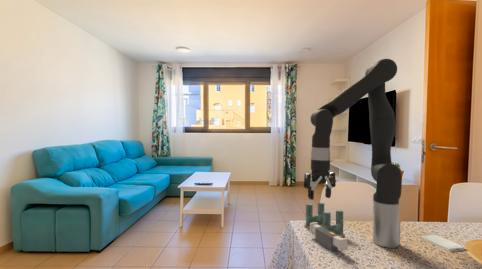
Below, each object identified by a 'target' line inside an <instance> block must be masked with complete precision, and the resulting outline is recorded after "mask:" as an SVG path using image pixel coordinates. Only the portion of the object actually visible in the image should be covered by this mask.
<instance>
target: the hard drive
mask: <svg viewBox="0 0 482 269" xmlns="http://www.w3.org/2000/svg"><path fill="white" fill-rule="evenodd" d="M420 239H421V240H424V241H425V242H428V243H430V244H432V245H433V246H436V247H439V248H441V249H443V250H445V251H447V252H449V253H450V252H459V251H465V250H464V247H465V246H463V245H461V244H459V243H457V242H454V241H452V240H449V239H447V238H445V237H442V236H440V235H437V234H431V235H429V234H428V235H420Z"/></svg>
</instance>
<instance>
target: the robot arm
mask: <svg viewBox="0 0 482 269" xmlns="http://www.w3.org/2000/svg"><path fill="white" fill-rule="evenodd" d="M397 73H398V66H397V63H396V62H395V61H394V60H393V59H390V58H382V59H379V60H377V61H374V62H373V63H371V64H370V65H368V66H367V68H366V69H365V73H364V76H362V78H360V79H359V80H357V81H356V82H354V83H353V84H351V85H350V86H348V87H347V88H345V89H343V91H341V92H340V93H338V94H337V95H336V96H334V97H333V98H332V99H331V100H330V101H328V102H327V103H325V104H324V105H322V106H321V107H319V108H317V109H316V110H315V111H314V112H313V113H312V114H311V115H310V123H311V124H312V125H313V126H314V133H313V134H312V136H311V151H310V170H311V172H310V173H309V172H305V173H304V178H303V188H304V189H307V197H308V199H309V200H312V201H313V200H314V197H315V196H314V194H315V191H314V190H315V188H316V187H317V186H318V185H321V184H322V185H324V187H325V188H324V191H325V195H324V196H325V198H327V199H331V196H332V189H333V188H336V186H337V185H336V173H335V172H333V171H330V170H331V149H330V148H331V138H330V137H331V134H332V130H333V125H334V118H335V117H336V116H338V115H342V114H343V113H345V111H347V110H348V109H350V108H351V107H352V106H353V105H355V104H356V103H357V102H358V101H360V100H361V99H362V98H363V97H365V96H366V95H367V96H368V110H369V111H368V112H369V114H368V115H369V130H370V132H369V133H370V142H371V164H370V165H371V166H370V175H371V176H372V178H373V180H374V181H375V182H376V190H375V192H374V193H373V196H372V202H373V203H372V204H373V205H372V208H373V209H372V213H373V214H372V215H373V216H372V242H373V243H374V244H376V245H377V246H379V247H384V248H389V249H396V248H398V247H399V246H400V245H401V221H400V198H401V196H402V185H403V175H402V171H401V169H400V168H399V167H398V166H397V165H395V164H393V162H392V155H391V153H392V152H391V150H392V144H393V141H394V138H395V134H396V118H395V112H394V110H393V107H392V106H391V104H390V102H389V100H388V98H387V95H386V83H387V82H389V81H390V80H393V78H395V76H396V75H397Z"/></svg>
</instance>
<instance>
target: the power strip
mask: <svg viewBox="0 0 482 269" xmlns="http://www.w3.org/2000/svg"><path fill="white" fill-rule="evenodd" d="M309 233H310V234H312V233H313V234H315V235H314V238H315V240H314V241H315V242H316V243H318V244H319V245H320V246H322V247H324V248H325V249H327V250H328V251H330V252H332V253H333V252H336V251H339V252H341V251H346V250H348V238H347V237H340V236H339V235H337V234H335V233H333V232H331V231H330V230H328V229H326V228H324V227H321V226H320V225H318V222H313V223H310V230H309Z"/></svg>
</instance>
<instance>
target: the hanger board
mask: <svg viewBox="0 0 482 269" xmlns="http://www.w3.org/2000/svg"><path fill="white" fill-rule="evenodd" d="M313 208H314V205H313V204H312V203H308V204H305V224H304V228H306V229H308V230H309V231H310V223H313V222H318V225H320V226H321V227H324V228H326V229H328V230H330V231H331V232H333V233H335V234H337V235H339V236H340V237H341V238H346V237H345V236H346V234H345V233H344V210H341V209H340V210H335V224H332V223H331V220H332V219H331V217H332V216H331V214H332V213H331V211H325V202H318V203H317V214H316V215H314V214H313V213H314V212H313Z"/></svg>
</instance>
